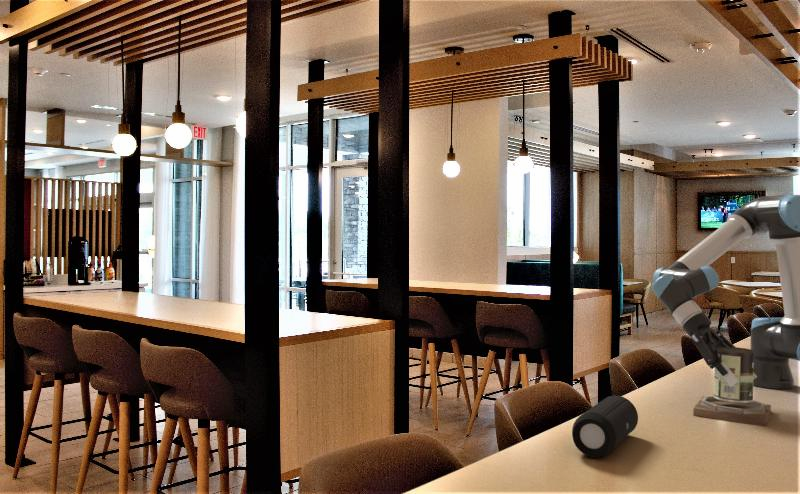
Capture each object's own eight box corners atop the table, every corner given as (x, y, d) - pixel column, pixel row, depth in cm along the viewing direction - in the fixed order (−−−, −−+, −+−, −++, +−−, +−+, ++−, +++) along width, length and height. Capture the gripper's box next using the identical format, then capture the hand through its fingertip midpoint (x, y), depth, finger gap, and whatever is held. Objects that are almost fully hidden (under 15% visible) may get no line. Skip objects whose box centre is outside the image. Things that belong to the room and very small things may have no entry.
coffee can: (747, 396, 199) (748, 347, 199) (758, 404, 189) (759, 353, 189) (708, 393, 201) (710, 345, 201) (717, 402, 191) (719, 351, 191)
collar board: (702, 402, 207) (703, 392, 207) (770, 411, 198) (770, 400, 198) (693, 415, 192) (693, 403, 192) (766, 425, 183) (766, 413, 183)
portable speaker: (612, 464, 149) (613, 418, 148) (567, 456, 154) (568, 411, 154) (639, 436, 170) (641, 396, 170) (599, 430, 176) (600, 390, 175)
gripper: (702, 324, 214) (752, 384, 202) (663, 329, 200) (714, 394, 188) (720, 309, 209) (772, 369, 197) (681, 313, 195) (734, 378, 183)
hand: (744, 381), depth 193 cm, fingers closed on coffee can, 10 cm apart
